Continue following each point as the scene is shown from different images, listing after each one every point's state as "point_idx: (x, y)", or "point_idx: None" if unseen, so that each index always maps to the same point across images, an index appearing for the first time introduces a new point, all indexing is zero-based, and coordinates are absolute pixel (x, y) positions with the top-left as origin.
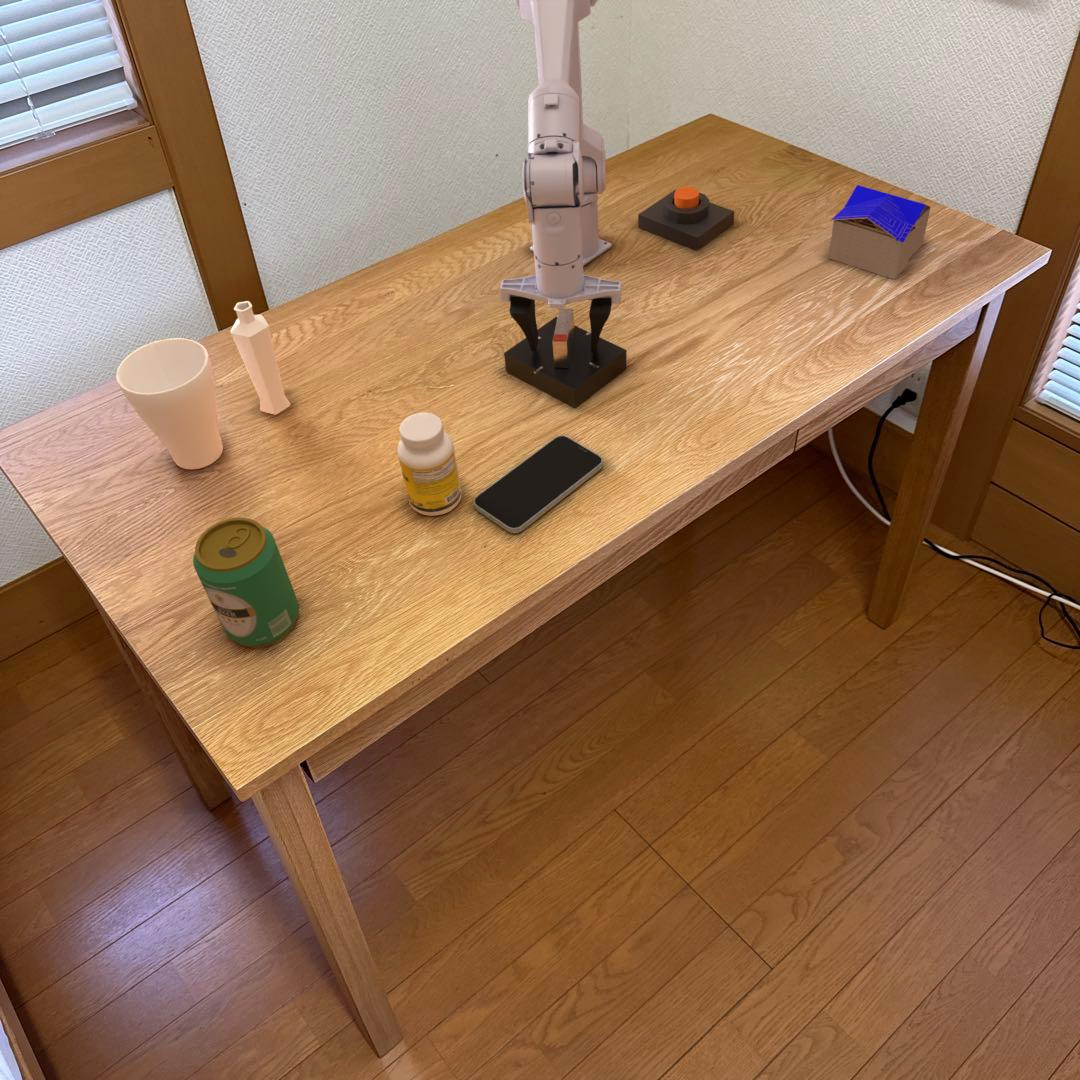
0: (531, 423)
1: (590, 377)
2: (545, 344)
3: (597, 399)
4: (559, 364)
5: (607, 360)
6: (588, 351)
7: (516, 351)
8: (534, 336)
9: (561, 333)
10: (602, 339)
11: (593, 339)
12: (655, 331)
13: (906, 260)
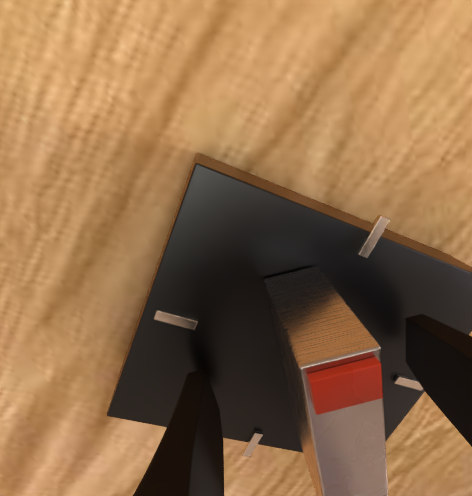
0: (321, 21)
1: (162, 257)
2: None
3: (145, 218)
4: (301, 278)
5: (142, 355)
6: (225, 374)
7: (465, 305)
8: (452, 368)
9: (345, 414)
10: None
11: (185, 425)
12: (121, 482)
13: None
